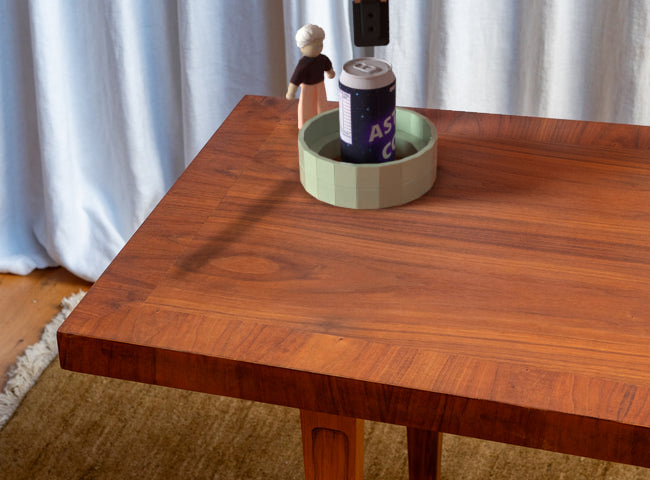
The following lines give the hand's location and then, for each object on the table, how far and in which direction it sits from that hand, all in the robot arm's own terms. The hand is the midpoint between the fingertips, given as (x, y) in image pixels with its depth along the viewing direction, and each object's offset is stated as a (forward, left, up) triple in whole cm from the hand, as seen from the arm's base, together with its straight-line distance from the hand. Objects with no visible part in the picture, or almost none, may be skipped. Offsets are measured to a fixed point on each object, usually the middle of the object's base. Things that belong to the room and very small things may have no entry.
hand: (371, 26), depth 83 cm
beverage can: (0, 0, -16) cm, 16 cm away
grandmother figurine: (+6, -12, -17) cm, 22 cm away
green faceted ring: (0, 0, -17) cm, 17 cm away
